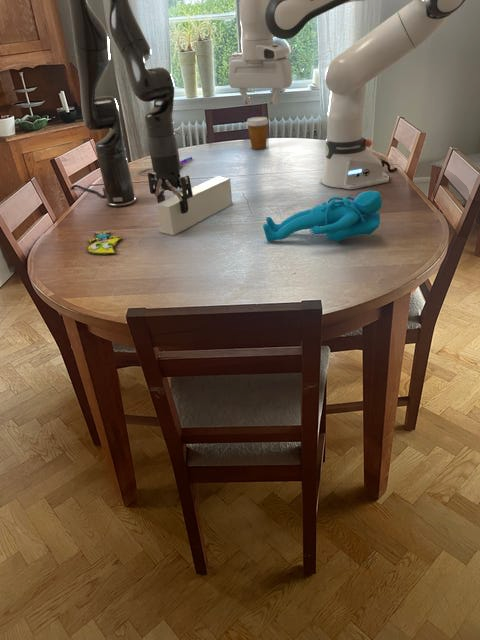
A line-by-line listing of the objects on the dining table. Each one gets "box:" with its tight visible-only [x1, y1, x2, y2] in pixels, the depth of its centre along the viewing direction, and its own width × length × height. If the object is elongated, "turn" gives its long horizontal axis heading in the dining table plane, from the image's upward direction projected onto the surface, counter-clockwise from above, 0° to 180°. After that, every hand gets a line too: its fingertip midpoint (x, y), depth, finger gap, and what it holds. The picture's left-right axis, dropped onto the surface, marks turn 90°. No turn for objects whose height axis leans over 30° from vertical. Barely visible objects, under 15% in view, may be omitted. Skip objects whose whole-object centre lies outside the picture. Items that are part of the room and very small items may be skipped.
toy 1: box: [87, 230, 123, 255], centre depth 134 cm, size 10×1×15 cm
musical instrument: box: [138, 156, 193, 175], centre depth 196 cm, size 24×2×20 cm
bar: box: [155, 176, 233, 236], centre depth 144 cm, size 28×5×8 cm, turn 144°
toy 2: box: [262, 190, 383, 243], centre depth 124 cm, size 17×11×30 cm
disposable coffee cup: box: [246, 116, 269, 150], centre depth 210 cm, size 10×10×12 cm
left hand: (173, 210), depth 137 cm, fingers open, 8 cm apart
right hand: (260, 104), depth 142 cm, fingers open, 8 cm apart
